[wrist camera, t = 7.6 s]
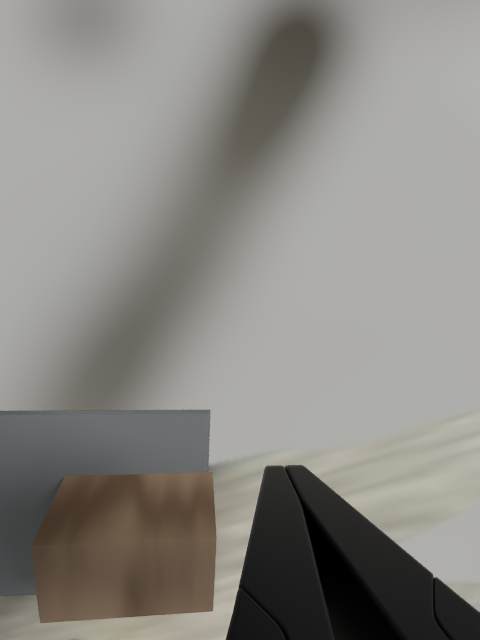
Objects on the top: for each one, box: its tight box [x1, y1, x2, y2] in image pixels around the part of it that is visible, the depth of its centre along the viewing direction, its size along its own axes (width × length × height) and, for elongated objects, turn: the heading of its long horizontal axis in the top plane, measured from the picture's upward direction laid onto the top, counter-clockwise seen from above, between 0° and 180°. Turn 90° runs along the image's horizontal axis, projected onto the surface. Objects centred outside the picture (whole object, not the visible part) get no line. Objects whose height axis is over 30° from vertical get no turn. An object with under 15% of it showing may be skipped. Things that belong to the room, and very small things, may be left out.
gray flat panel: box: [0, 410, 210, 596], centre depth 22 cm, size 14×12×1 cm
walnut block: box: [31, 472, 216, 623], centre depth 20 cm, size 4×4×8 cm
